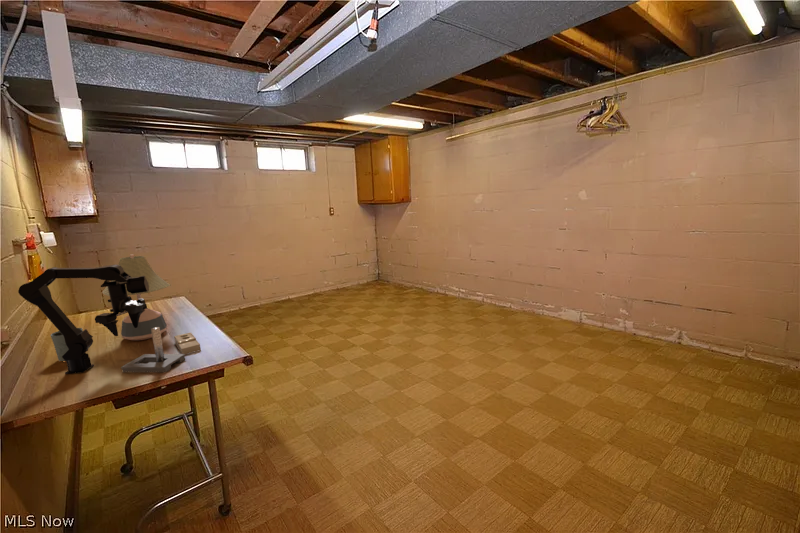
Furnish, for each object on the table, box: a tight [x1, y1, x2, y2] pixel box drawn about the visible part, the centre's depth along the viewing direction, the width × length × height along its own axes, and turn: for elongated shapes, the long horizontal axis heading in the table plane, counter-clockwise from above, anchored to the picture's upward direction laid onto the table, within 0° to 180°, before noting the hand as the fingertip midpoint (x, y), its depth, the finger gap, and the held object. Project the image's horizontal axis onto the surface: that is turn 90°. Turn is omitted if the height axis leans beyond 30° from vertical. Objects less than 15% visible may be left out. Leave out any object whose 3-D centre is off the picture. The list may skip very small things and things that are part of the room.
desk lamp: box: [102, 254, 171, 341], centre depth 175 cm, size 26×28×42 cm
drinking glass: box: [50, 327, 84, 362], centre depth 154 cm, size 10×10×12 cm
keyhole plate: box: [120, 353, 186, 373], centre depth 144 cm, size 18×12×2 cm, turn 86°
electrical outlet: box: [173, 332, 201, 355], centre depth 163 cm, size 7×4×18 cm
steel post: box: [151, 327, 165, 362], centre depth 143 cm, size 5×5×16 cm
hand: (126, 331), depth 147 cm, fingers open, 9 cm apart
